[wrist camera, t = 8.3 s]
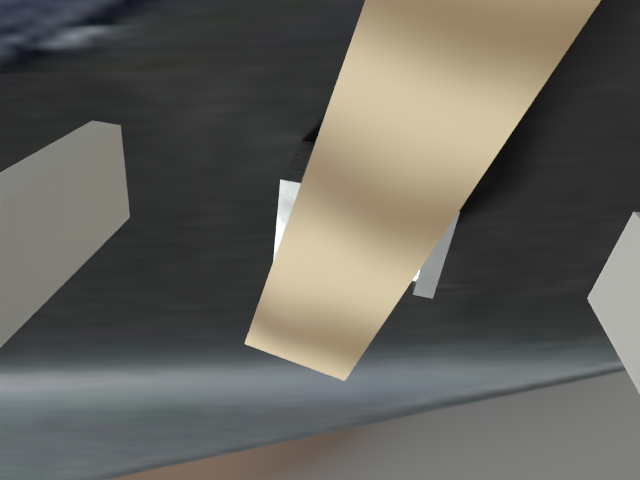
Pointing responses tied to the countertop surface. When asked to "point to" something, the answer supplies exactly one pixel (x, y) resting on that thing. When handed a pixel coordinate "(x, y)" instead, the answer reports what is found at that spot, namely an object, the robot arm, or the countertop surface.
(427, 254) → the rail
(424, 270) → the block
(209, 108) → the countertop surface
